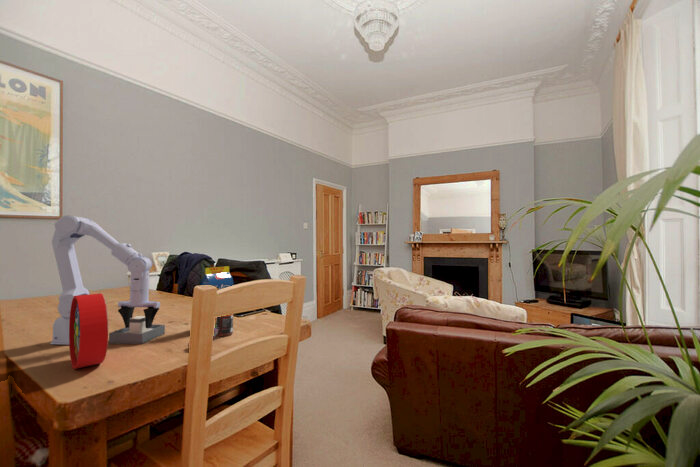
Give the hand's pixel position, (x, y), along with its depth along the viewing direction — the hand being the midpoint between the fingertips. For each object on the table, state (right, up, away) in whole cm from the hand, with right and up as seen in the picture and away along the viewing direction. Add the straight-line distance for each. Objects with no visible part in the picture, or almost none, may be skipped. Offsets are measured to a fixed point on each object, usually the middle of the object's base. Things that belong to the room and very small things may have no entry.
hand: (138, 327), depth 113 cm
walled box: (0, -4, 0) cm, 4 cm away
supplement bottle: (+29, -5, +6) cm, 30 cm away
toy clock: (+2, -4, -25) cm, 25 cm away
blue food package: (+22, -5, +16) cm, 27 cm away
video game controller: (+27, -4, -6) cm, 28 cm away
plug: (0, -3, 0) cm, 3 cm away
